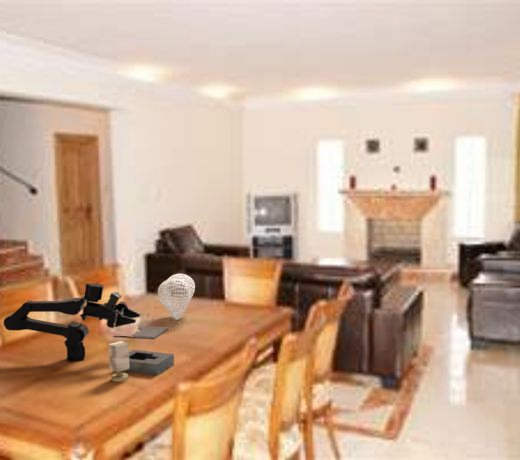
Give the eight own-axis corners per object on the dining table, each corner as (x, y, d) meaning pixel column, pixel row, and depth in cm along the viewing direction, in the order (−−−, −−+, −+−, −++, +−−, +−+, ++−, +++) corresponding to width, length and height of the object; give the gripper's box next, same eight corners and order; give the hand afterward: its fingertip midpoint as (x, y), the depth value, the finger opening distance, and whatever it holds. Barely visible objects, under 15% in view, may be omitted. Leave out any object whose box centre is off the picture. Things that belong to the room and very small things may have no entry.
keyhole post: (108, 379, 213) (107, 344, 212) (122, 374, 217) (121, 340, 216) (117, 383, 209) (116, 347, 207) (131, 378, 213) (130, 343, 212)
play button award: (155, 336, 264) (114, 334, 268) (155, 340, 264) (114, 337, 268) (168, 327, 279) (129, 325, 284) (168, 330, 279) (130, 328, 284)
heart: (169, 312, 312) (168, 271, 310) (197, 313, 311) (197, 271, 309) (155, 326, 285) (154, 281, 282) (186, 327, 283) (185, 281, 281)
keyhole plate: (115, 370, 222) (114, 359, 222) (133, 359, 234) (133, 349, 234) (157, 375, 216) (156, 364, 216) (173, 364, 228) (173, 354, 228)
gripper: (96, 296, 224) (137, 304, 225) (108, 286, 243) (145, 294, 243) (91, 324, 225) (131, 332, 226) (103, 312, 244) (140, 319, 245)
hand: (137, 318), depth 235 cm, fingers open, 9 cm apart
